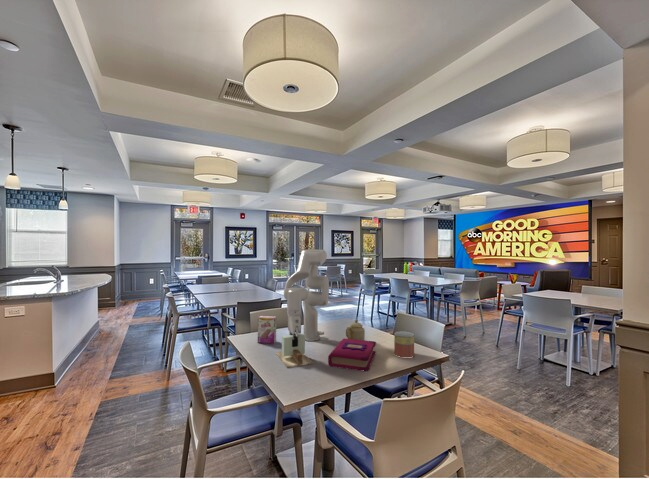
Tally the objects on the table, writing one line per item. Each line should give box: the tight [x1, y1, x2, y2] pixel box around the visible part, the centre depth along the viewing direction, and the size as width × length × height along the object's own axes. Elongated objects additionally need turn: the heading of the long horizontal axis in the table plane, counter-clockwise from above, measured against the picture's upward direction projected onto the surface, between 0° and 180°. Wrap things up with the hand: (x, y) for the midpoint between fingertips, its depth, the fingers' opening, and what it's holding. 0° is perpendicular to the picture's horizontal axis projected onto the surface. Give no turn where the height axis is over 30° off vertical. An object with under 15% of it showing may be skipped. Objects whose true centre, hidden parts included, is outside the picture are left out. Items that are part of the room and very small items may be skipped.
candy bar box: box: [257, 315, 277, 344], centre depth 194 cm, size 11×5×16 cm, turn 84°
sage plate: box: [281, 333, 306, 356], centre depth 167 cm, size 12×4×10 cm, turn 114°
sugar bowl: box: [345, 318, 366, 341], centre depth 196 cm, size 15×11×15 cm
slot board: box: [275, 349, 314, 369], centre depth 167 cm, size 14×22×6 cm, turn 24°
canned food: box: [393, 330, 415, 358], centre depth 174 cm, size 11×11×12 cm
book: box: [327, 338, 377, 372], centre depth 167 cm, size 21×28×8 cm
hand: (293, 344), depth 167 cm, fingers closed on sage plate, 4 cm apart
